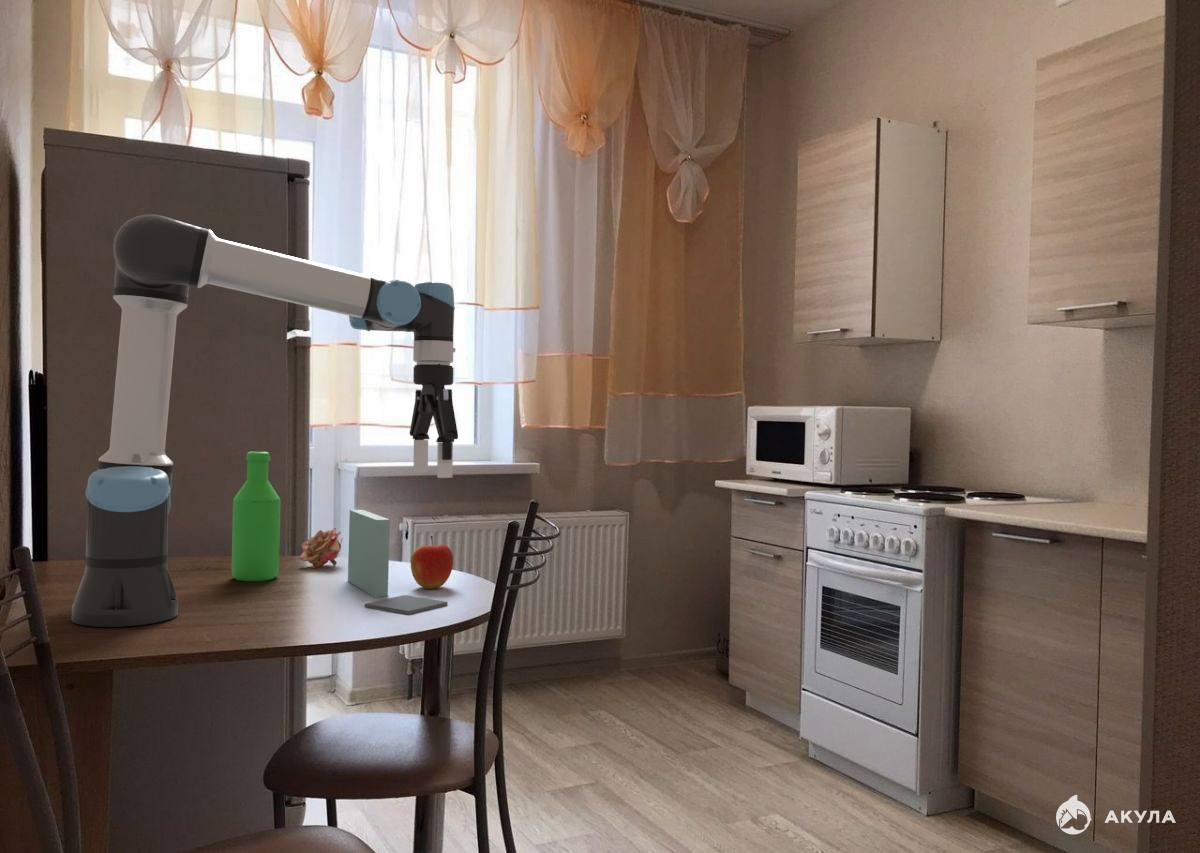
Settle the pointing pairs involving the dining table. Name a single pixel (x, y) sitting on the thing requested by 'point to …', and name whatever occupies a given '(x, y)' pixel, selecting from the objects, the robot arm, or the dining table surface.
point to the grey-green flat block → (369, 552)
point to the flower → (321, 548)
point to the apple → (431, 565)
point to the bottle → (256, 524)
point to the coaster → (406, 604)
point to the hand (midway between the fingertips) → (432, 475)
